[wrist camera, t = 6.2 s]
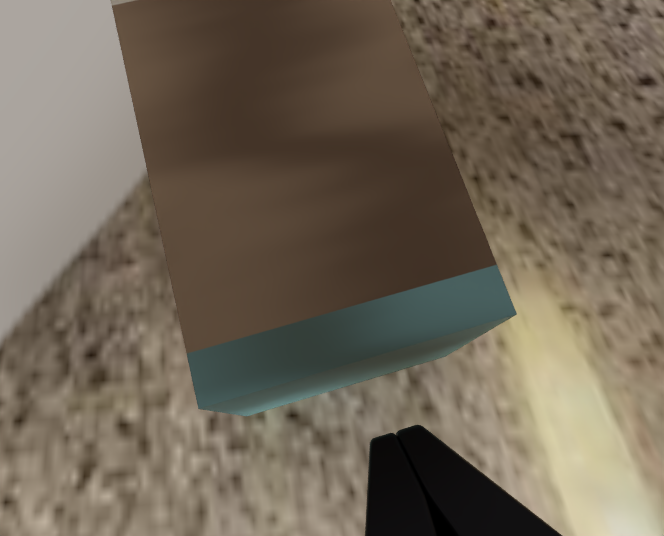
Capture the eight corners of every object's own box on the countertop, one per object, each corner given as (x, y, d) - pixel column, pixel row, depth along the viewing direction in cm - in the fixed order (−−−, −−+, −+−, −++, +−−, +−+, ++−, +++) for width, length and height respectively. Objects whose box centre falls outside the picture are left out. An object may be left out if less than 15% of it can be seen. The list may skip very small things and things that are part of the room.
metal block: (445, 356, 16) (346, 78, 18) (516, 313, 10) (357, -84, 13) (246, 416, 15) (175, 119, 18) (198, 408, 9) (104, -30, 12)
